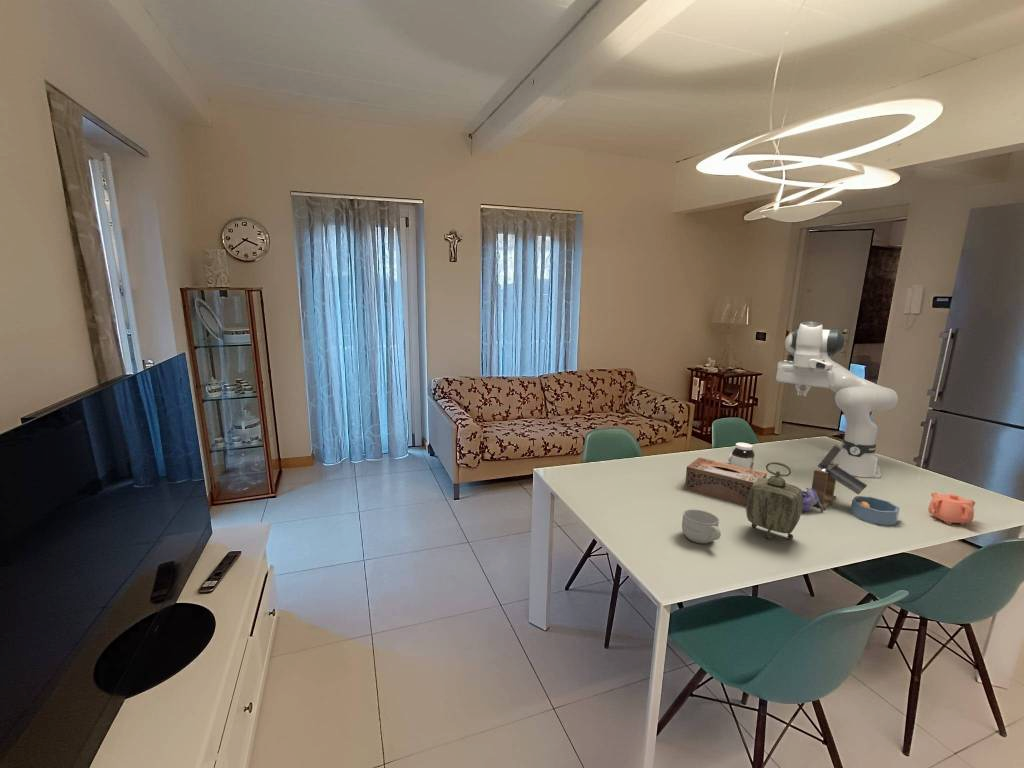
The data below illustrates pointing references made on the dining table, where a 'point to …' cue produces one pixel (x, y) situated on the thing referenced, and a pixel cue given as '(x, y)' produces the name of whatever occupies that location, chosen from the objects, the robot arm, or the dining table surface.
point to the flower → (810, 500)
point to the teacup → (700, 526)
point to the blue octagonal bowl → (875, 511)
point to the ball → (864, 504)
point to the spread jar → (742, 456)
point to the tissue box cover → (721, 480)
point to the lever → (840, 472)
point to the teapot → (951, 508)
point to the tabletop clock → (774, 503)
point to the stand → (824, 487)
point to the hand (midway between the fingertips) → (801, 395)
